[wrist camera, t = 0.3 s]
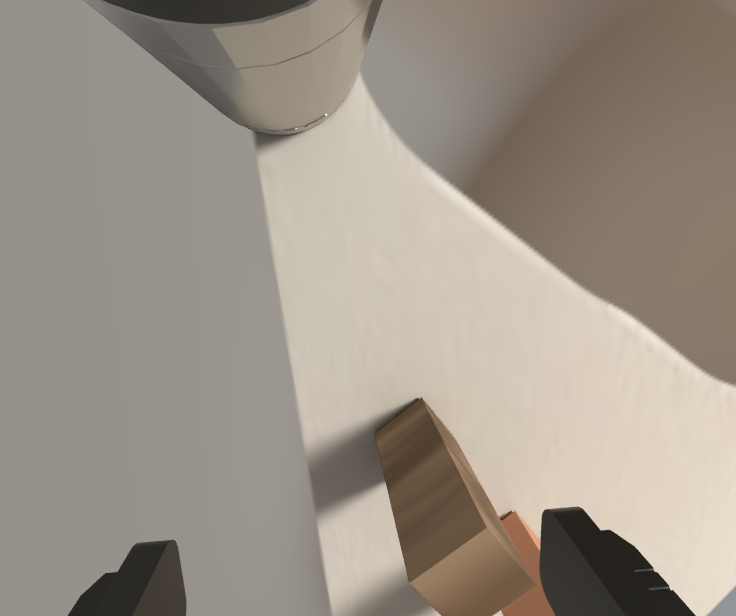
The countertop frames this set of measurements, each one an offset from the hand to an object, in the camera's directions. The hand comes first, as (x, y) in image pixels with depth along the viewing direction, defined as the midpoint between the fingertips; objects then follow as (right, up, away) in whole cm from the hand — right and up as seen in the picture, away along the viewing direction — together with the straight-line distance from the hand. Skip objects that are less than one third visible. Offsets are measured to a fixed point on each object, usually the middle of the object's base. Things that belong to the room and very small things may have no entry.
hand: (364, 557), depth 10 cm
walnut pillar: (+3, -3, +21) cm, 21 cm away
